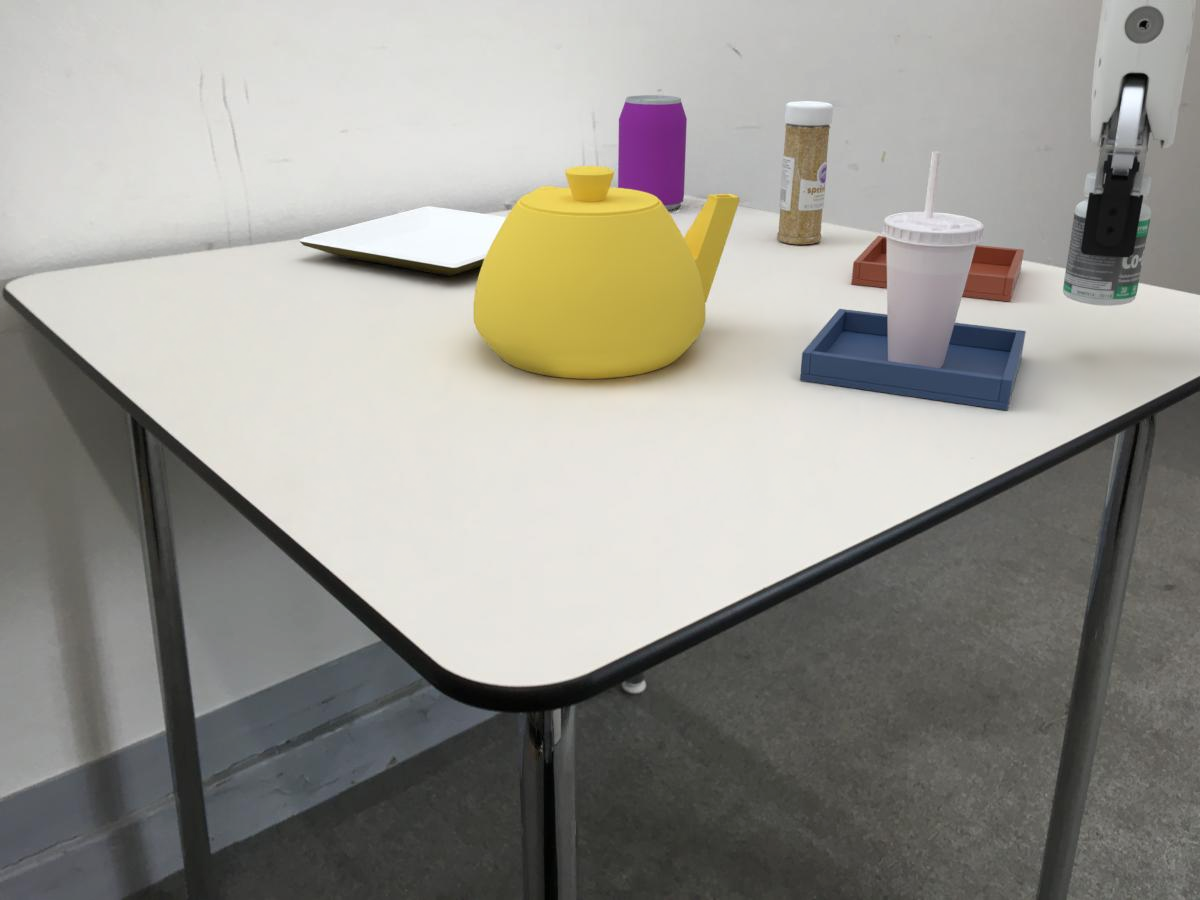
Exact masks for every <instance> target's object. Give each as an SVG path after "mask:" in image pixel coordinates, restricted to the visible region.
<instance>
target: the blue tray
mask: <svg viewBox="0 0 1200 900" xmlns="http://www.w3.org/2000/svg"><path fill="white" fill-rule="evenodd" d="M1026 333H1027V332H1026V330H1021V329H1013V328H1004V327H994V326H987V325H978V324H971V323H969V324H968V323H963V322H955V324H954V328H953V331H952V335H951V338H950V342H949V346H948V349H947V353H946V357H945V360H944V364H943V366H942V367H941V368H935V367H928V366H921V365H913V364H906V363H899V362H891V361H888V325H887V313H878V312H871V311H863V310H862V311H861V310H853V309H845V308H838V309H837V311H836V312H835V313H834V314H833V315H832V317H830V319H829V320H828V321H827V323H826V324H825V325H824V326H823V327H822V328H821V330H820V331H819V332H818V333H817V334H816V335H815V336H814V338H813V339H812V341H811V342H810V343H808V345H807V346H806V347H805V349H804V350H803V351H802V353H801V364H800V374H799V380H800V381H802V382H803V381H804V382H808V383H809V382H810V383H816V384H825V385H830V386H836V387H844V388H851V389H857V390H858V389H859V390H863V391H871V392H877V393H878V392H879V393H886V394H891V395H898V396H905V397H906V396H907V397H913V398H918V399H919V398H920V399H927V400H932V401H933V400H934V401H941V402H945V403H946V402H947V403H954V404H959V405H960V404H961V405H967V406H968V405H969V406H974V407H979V408H980V407H981V408H987V409H994V410H1002V411H1008V410H1009V405H1010V402H1011V399H1012V395H1013V391H1014V387H1015V383H1016V379H1017V376H1018V372H1019V368H1020V364H1021V361H1022V356H1023V351H1024V344H1025V339H1026Z"/></svg>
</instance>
